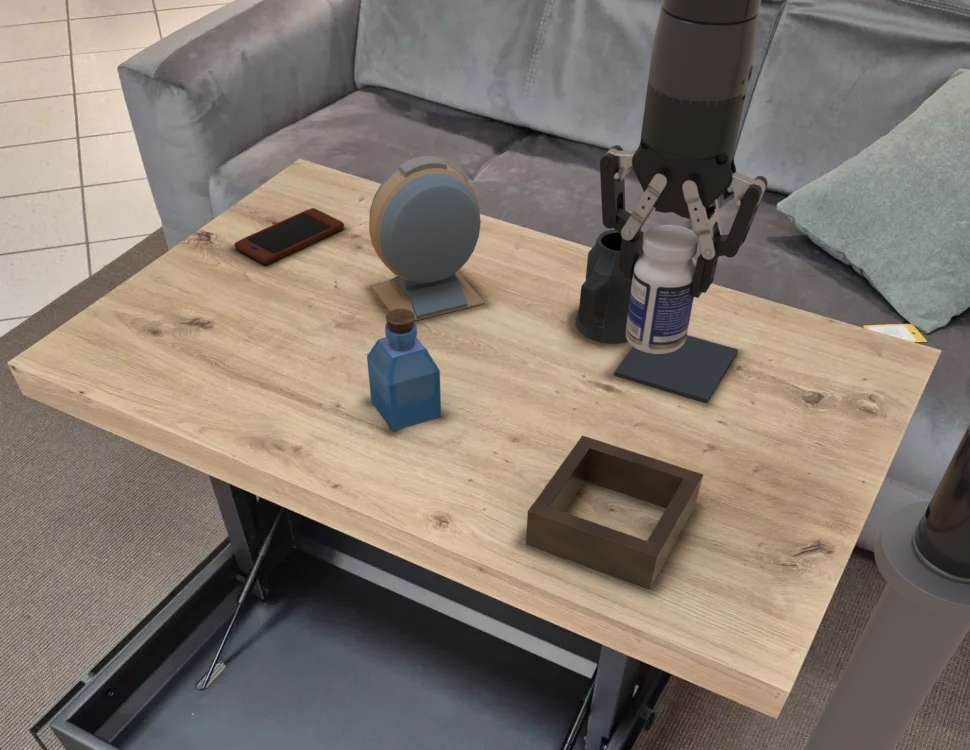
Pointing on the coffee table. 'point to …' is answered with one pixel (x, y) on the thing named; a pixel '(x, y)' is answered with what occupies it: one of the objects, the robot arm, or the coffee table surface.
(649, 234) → the pill bottle
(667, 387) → the rubber mat
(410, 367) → the perfume bottle
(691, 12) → the robot arm
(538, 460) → the coffee table surface
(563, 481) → the walnut box
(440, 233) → the alarm clock
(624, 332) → the black vase
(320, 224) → the smartphone
